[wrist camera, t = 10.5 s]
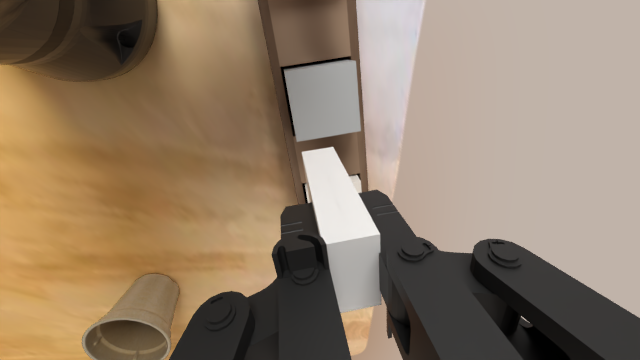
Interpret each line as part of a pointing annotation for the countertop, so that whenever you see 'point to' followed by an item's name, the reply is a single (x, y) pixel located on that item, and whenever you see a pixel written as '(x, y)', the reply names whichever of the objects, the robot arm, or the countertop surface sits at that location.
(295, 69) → the grey key
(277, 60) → the brown wooden long tray
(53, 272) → the countertop surface
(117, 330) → the flower pot
